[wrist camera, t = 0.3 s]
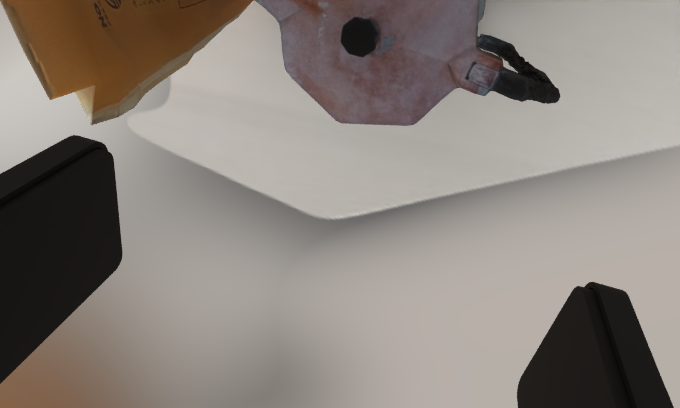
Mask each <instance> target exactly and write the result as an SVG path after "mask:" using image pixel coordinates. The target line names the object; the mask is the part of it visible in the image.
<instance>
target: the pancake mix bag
mask: <svg viewBox="0 0 680 408" xmlns="http://www.w3.org/2000/svg"><path fill="white" fill-rule="evenodd" d="M0 1H1V4H2V6H3V8H4V10H5V12H6V14H7V16H8V19H9V20H10V23H11V25H12V27H13V29H14V31H15V33H16V36H17V37H18V40H19V42H20V44H21V46H22V48H23V50H24V52H25V54H26V56H27V58H28V60H29V62H30V64H31V65H32V67H33V69H34V71H35V73H36V75H37V77H38V79H39V80H40V82H41V84H42V86H43V88H44V90H45V91H46V94H47V95H48V97H49V99H50V100H51V99H54V98H57V97H61V96H64V95H67V94H70V93H72V92H76V95H77V97H78V99H79V101H80V103H81V105H82V107H83V109H84V111H85V113H86V115H87V117H88V120H89V121H90V124H91V125H93V124H97V123H100V122H103V121H106V120H109V119H113V118H116V117H119V116H120V115H122V114H124V113H126V112H127V111H129V110H131V109H133V108H134V107H135V106H136V105H137V103H138V102H139V101H140V100H141V98H142V97H143V96H144V95H145V94H146V93H147V92H148V91H149V90H151V89H152V88H153V87H154V86H156V85H157V84H158V83H160V82H161V81H162V80H164V79H165V78H167V77H168V76H170V75H171V74H173V73H174V72H176V71H177V70H179V69H180V68H182V67H183V66H185V65H186V64H188V62H189V61H190V59H191V58H192V56H193V55H194V53H196V52H197V51H199V50H201V49H202V48H204V47H205V45H206V44H207V43H208V42H209V41H210V40H211V39H212V38H214V37H215V36H216V35H217V34H218V33H219V32H220V31H221V30H222V29H223V28H224V27H225V26H226V25H228V24H229V23H231V22H232V21H234V20H235V19H236V18H238V17H239V16H240V14H241V13H242V12H243V11H244V10H245V9H246V8H247V6H248V5H249V4H250V3H251V2H252V1H253V0H0Z"/></svg>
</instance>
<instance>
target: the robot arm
mask: <svg viewBox="0 0 680 408" xmlns="http://www.w3.org/2000/svg"><path fill="white" fill-rule="evenodd" d="M121 259H122V244H121V234H120V223H119V213H118V202H117V191H116V180H115V170H114V160H113V156H112V154H111V153H110V152H108V150H107V148H106V146H105V145H104V144H103V143H101V142H98V141H95V140H91V139H88V138H84V137H81V136H75V135H73V136H70V137H68V138H66V139H64V140H62V141H60V142H59V143H57V144H55V145H53V146H51V147H49V148H47V149H46V150H44V151H42V152H40V153H38V154H36V155H35V156H33V157H31V158H29V159H27V160H25V161H24V162H22V163H20V164H18V165H16V166H14V167H13V168H11V169H9V170H7V171H5V172H3V173H1V174H0V384H1V382H3V381H4V380H5V379H6V378H7V377H8V376H9V375H10V374H11V373H12V372H13V371H14V370H15V369H16V368H17V367H18V366H19V365H20V364H21V363H22V362H23V361H24V360H25V359H26V358H27V357H28V356H29V355H30V354H31V353H32V352H33V351H34V350H35V349H36V348H37V347H38V346H39V345H40V344H41V343H42V342H43V341H44V340H45V339H46V338H47V337H48V336H49V335H50V334H51V333H52V332H53V331H54V330H55V329H56V328H57V327H58V326H59V325H60V324H62V322H64V321H65V320H66V319H67V318H68V316H70V315H71V314H72V312H74V311H75V310H76V309H77V308H78V307H79V306H80V305H81V304H82V303H83V302H84V301H85V300H86V299H87V298H88V297H89V296H90V295H91V294H92V293H93V292H94V291H95V290H96V289H97V288H98V287H99V286H100V285H101V284H102V283H103V282H104V281H105V280H106V279H107V278H108V277H109V276H110V275H111V274H112V273H113V272H114V271H115V270H116V269H117V268H118V266H119V264H120V262H121ZM517 401H518V408H674V407H673V405H672V402H671V400H670V397H669V395H668V392H667V390H666V388H665V386H664V383H663V381H662V378H661V376H660V373H659V371H658V368H657V366H656V363H655V361H654V358H653V356H652V353H651V351H650V349H649V346H648V343H647V341H646V338H645V336H644V334H643V331H642V329H641V326H640V324H639V321H638V319H637V316H636V314H635V311H634V309H633V306H632V304H631V301H630V299H629V297H628V295H627V293H626V292H625V291H623V290H620V289H616V288H613V287H609V286H605V285H602V284H598V283H595V282H589V283H588V284H587V285H586V286H585V287H580V286H577V287H576V288H574V290H573V291H572V292H571V294H570V296H569V297H568V299H567V301H566V302H565V304H564V306H563V308H562V309H561V311H560V312H559V314H558V316H557V318H556V319H555V321H554V323H553V324H552V326H551V328H550V329H549V331H548V333H547V334H546V336H545V338H544V339H543V341H542V343H541V345H540V346H539V348H538V349H537V351H536V353H535V355H534V356H533V358H532V360H531V361H530V363H529V365H528V366H527V368H526V370H525V371H524V373H523V375H522V376H521V379H520V381H519V384H518V390H517Z"/></svg>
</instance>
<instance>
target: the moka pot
mask: <svg viewBox="0 0 680 408" xmlns="http://www.w3.org/2000/svg"><path fill="white" fill-rule="evenodd" d="M255 1H256V2H258V3H259V4H260V5H262V6H263V7H264V8H265V9H266V10H267V11H268V12H270V13H271V14H272V15H273V16H274V17H275V18H276V20H277V21H278V22H279V25H280V30H281V39H282V52H283V59H284V65H285V70H286V71H287V72H288V74H289V75H290V76H291V77H292V79H293V80H294V81H296V82H297V83H298V84H299V85H300V86H301V87H302V88H303V89H304V90H305V91H306V92H307V93H308V94H309V95H310V96H311V97H312V98H313V99H314V100H315V101H316V102H317V103H318V104H319V105H320V106H321V107H323V108H324V109H325V110H326V111H327V112H328V113H329V114H330V115H331V116H332V117H333V118H334V119H335V120H336V121H338V122H340V123H349V124H374V125H402V126H407V125H414V124H415V123H417V122H418V121H419V120H420V119H422V118H423V117H424V116H425V115H426V114H427V113H428V112H429V111H430V110H431V109H432V108H433V107H434V106H435V105H436V104H438V103H439V102H440V101H441V100H442V99H443V98H444V97H445V96H446V95H448V94H449V93H450V92H451V91H453V90H454V89H455V88H463V89H465V90H467V91H470V92H472V93H475V94H479V95H482V96H485V95H486V94H488V93H489V92H490V91H495V92H498V93H500V94H502V95H504V96H506V97H509V98H511V99H514V100H519V101H521V102H522V101H525V100H534V101H538V102H541V103H547V104H549V103H556V102H557V101H558V100H559V98H560V93H559V90H558V88H556V87H555V86H554V85H553V84H552V82H551V81H550V79H549V78H548V77H547V75H546V74H545V73H544V72H542V71H540V70H538V69H535V68H534V67H533V66H532V65H531V64H529V62H525V59H524V58H523V57H520V56H519V54H518V52H517V51H516V50H515V47H514V46H513V45H512V44H510V43H507V42H505V41H502V40H500V39H497V38H495V37H492V36H490V35H483V34H481V36H480V37H477V31H478V22H479V21H480V20H481V19H482V17H483V14H484V7H485V0H255ZM479 47H480V48H482V49H484V50H486V51H490V52H493V53H495V54H497V55H498V56H499V57H498V56H496V55H494V54H492V53H489V52H485V51H482V50H481V49H480V48H479ZM500 57H502V58H503V59H504V60H506V61H508V63H509V65H510V66H512V67H513V68H514V69H515V70H516V71H517V72H518V73H516V71H515V72H514V71H511V70H509V69H507V68H505V67H503V60H502V58H500Z"/></svg>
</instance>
